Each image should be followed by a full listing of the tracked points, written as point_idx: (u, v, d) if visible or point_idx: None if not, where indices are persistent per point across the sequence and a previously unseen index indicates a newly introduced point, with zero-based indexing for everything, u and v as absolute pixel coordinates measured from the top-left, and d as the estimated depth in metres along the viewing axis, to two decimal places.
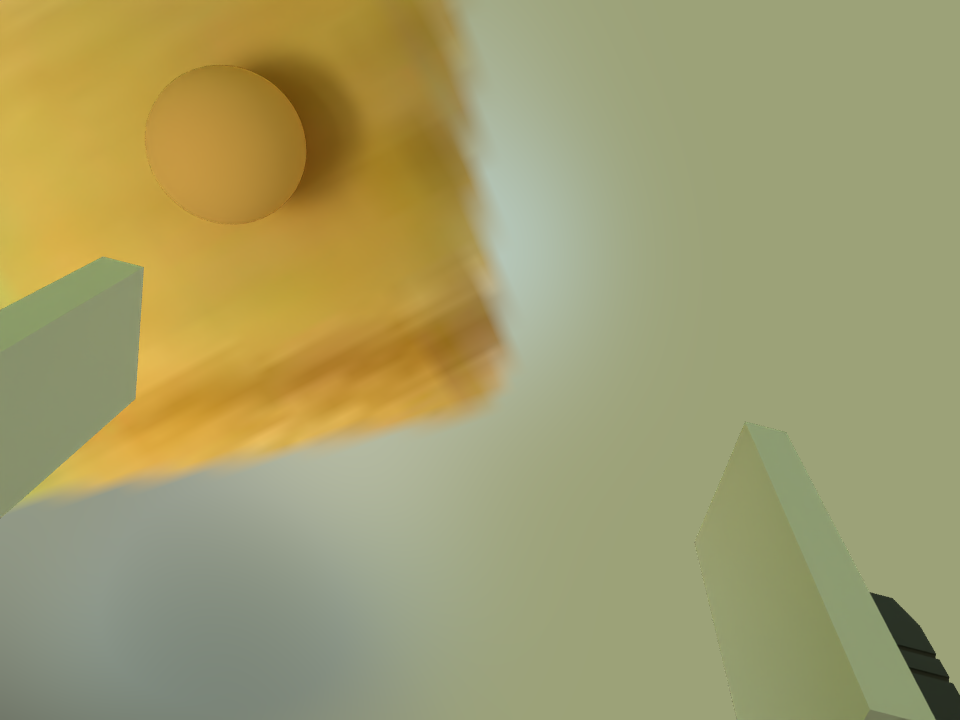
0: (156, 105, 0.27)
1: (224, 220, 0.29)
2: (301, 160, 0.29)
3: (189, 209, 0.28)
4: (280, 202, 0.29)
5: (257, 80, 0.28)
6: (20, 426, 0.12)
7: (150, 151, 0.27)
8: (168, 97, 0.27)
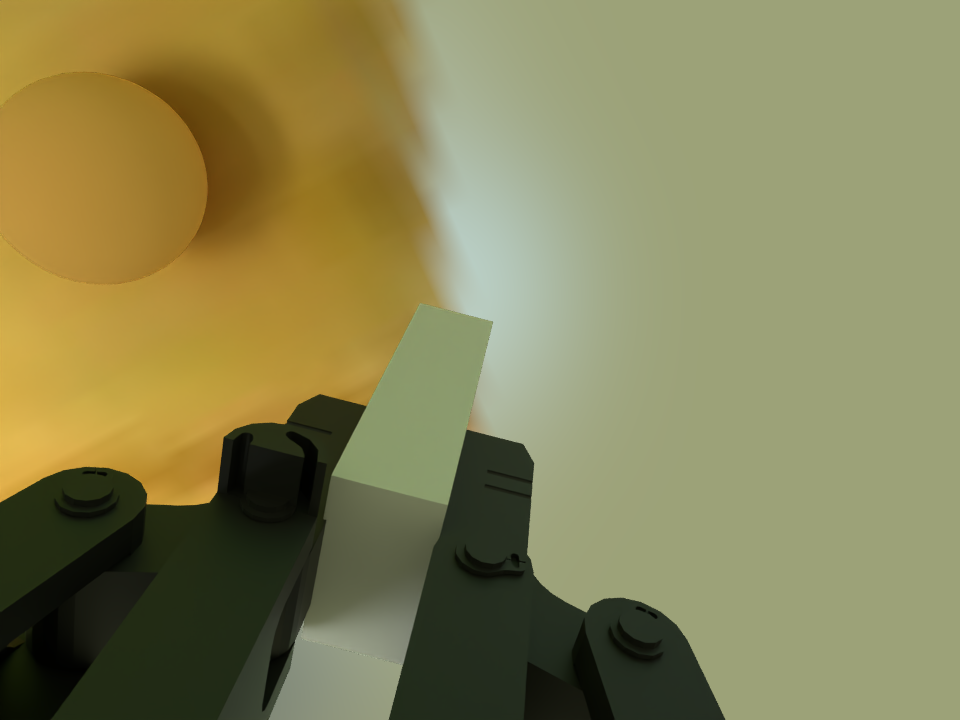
0: None
1: (92, 281, 0.21)
2: (197, 200, 0.21)
3: (43, 268, 0.21)
4: (170, 256, 0.22)
5: (131, 92, 0.20)
6: None
7: None
8: (3, 117, 0.19)
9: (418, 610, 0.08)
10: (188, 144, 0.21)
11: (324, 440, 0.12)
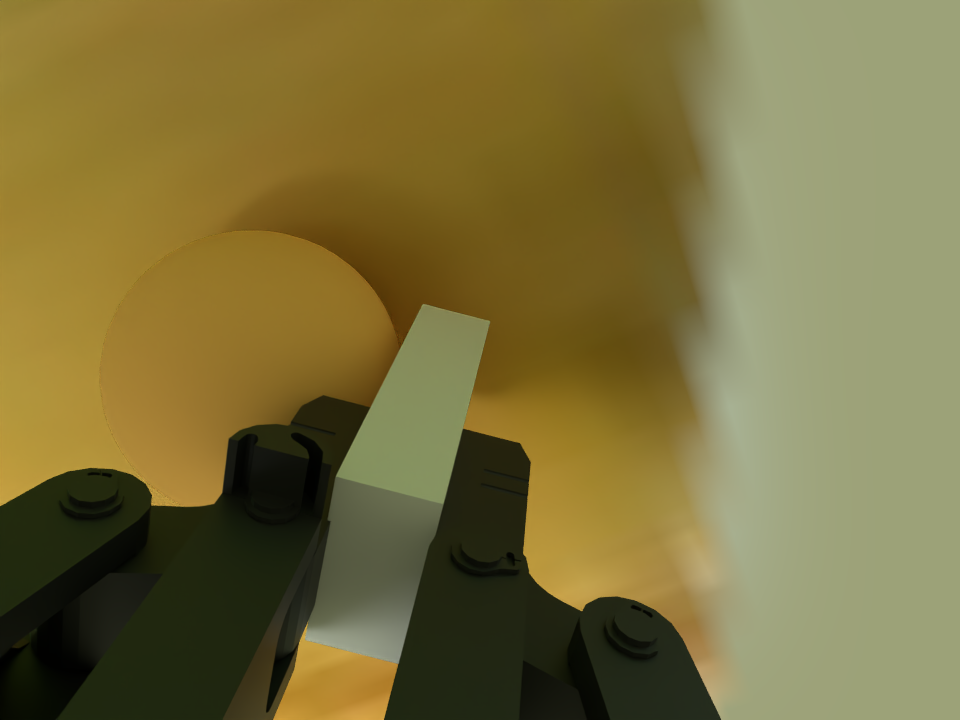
0: (119, 311, 0.14)
1: None
2: None
3: None
4: None
5: (317, 271, 0.14)
6: None
7: (101, 396, 0.14)
8: (139, 302, 0.14)
9: (413, 609, 0.08)
10: (385, 341, 0.15)
11: (328, 441, 0.12)
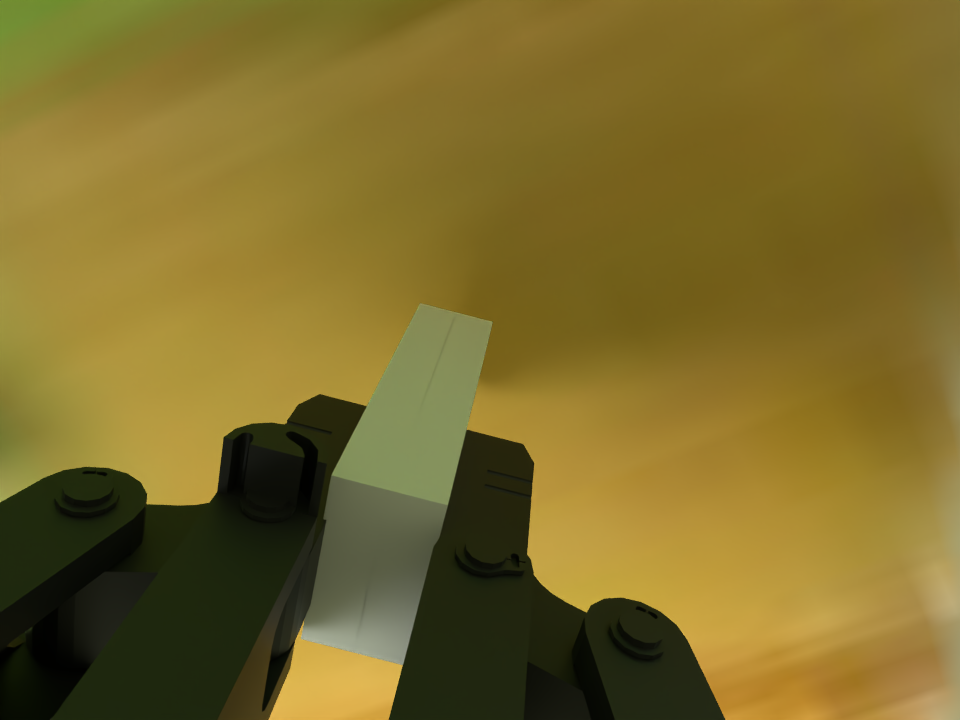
0: None
1: None
2: None
3: None
4: None
5: None
6: None
7: None
8: None
9: (418, 610, 0.08)
10: None
11: (324, 440, 0.12)
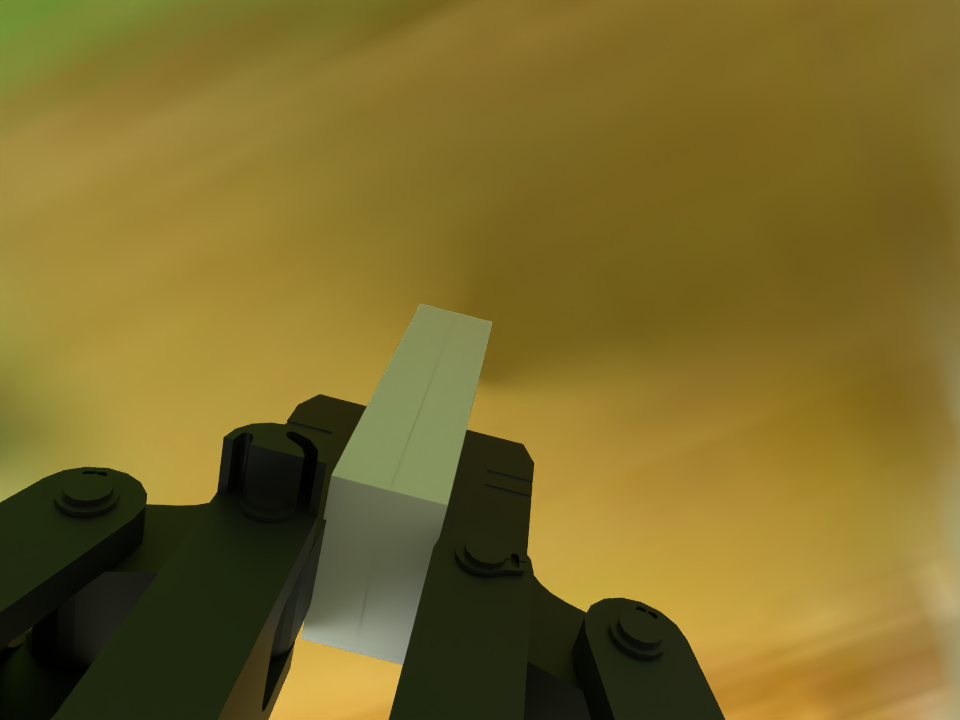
0: None
1: None
2: None
3: None
4: None
5: None
6: None
7: None
8: None
9: (418, 610, 0.08)
10: None
11: (324, 440, 0.12)
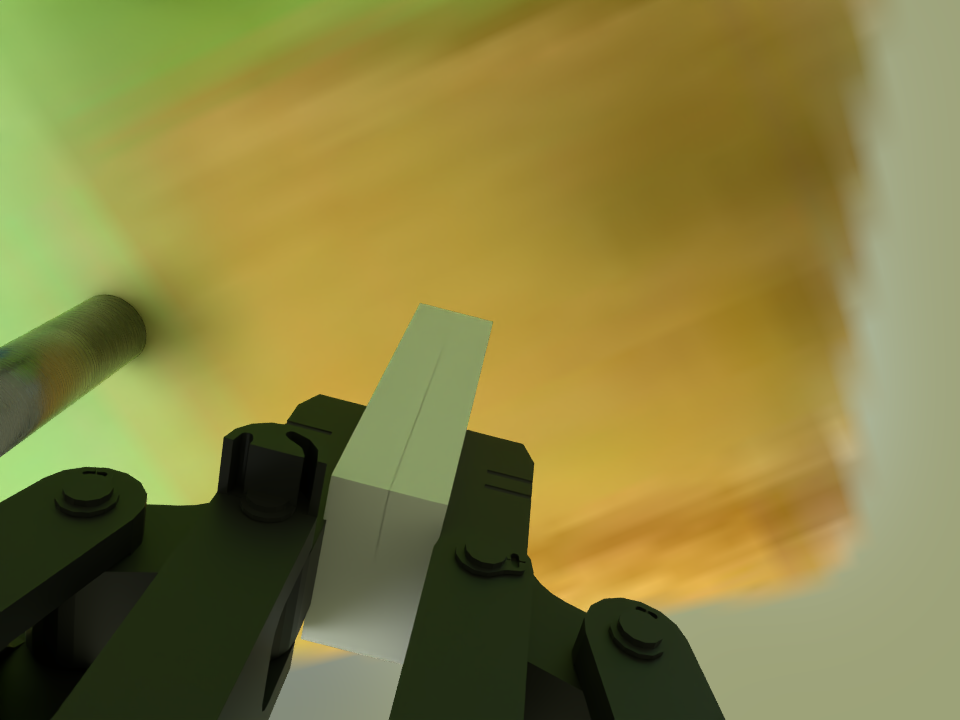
0: None
1: None
2: None
3: None
4: None
5: None
6: None
7: None
8: None
9: (418, 610, 0.08)
10: None
11: (324, 440, 0.12)
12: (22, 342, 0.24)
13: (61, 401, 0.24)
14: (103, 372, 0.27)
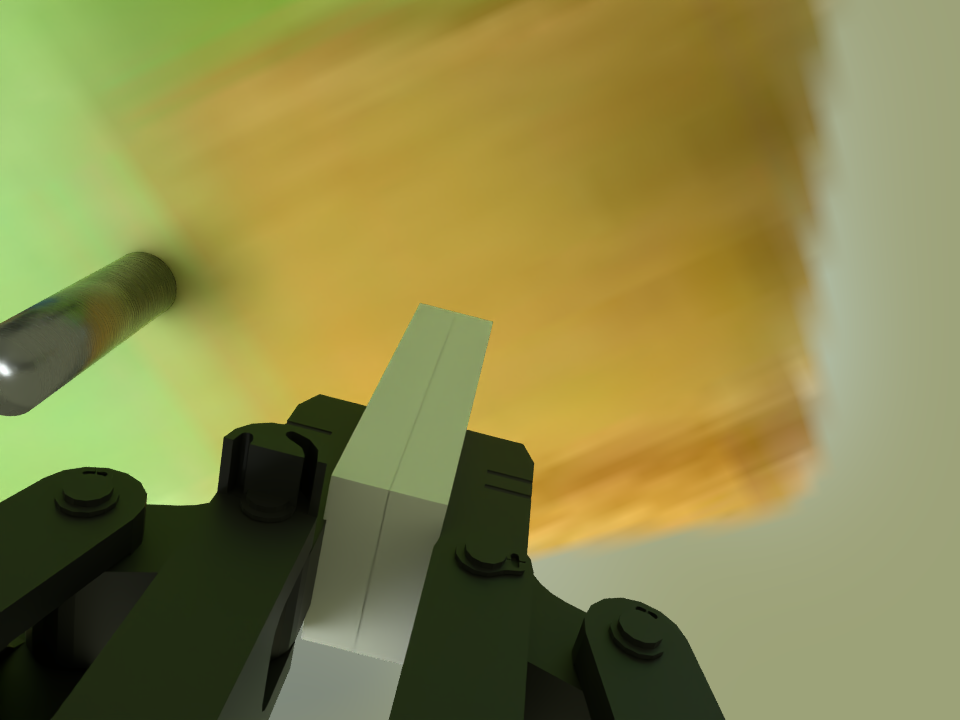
0: None
1: None
2: None
3: None
4: None
5: None
6: None
7: None
8: None
9: (418, 610, 0.08)
10: None
11: (324, 440, 0.12)
12: (72, 290, 0.27)
13: (108, 343, 0.27)
14: (142, 320, 0.30)
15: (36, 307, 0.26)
